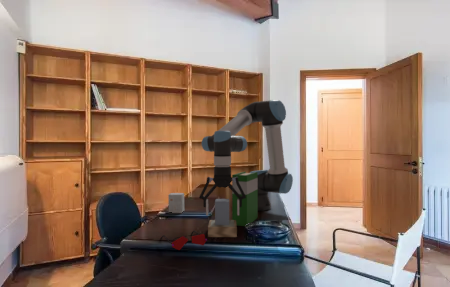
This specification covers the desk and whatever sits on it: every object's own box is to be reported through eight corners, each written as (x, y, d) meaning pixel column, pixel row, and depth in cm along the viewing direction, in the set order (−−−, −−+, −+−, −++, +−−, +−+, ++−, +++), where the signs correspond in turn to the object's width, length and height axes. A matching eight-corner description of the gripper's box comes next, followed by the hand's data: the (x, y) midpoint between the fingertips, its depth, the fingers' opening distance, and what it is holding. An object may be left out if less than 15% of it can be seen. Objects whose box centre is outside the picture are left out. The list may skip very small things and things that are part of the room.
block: (229, 221, 132) (229, 198, 132) (229, 224, 126) (229, 201, 126) (215, 221, 132) (215, 198, 132) (215, 224, 126) (215, 201, 126)
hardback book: (244, 216, 158) (244, 171, 158) (257, 217, 155) (257, 172, 155) (232, 224, 141) (232, 174, 141) (247, 226, 139) (246, 175, 139)
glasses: (172, 252, 106) (172, 238, 106) (160, 239, 121) (160, 227, 121) (207, 246, 113) (207, 233, 113) (192, 234, 127) (192, 222, 127)
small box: (184, 211, 171) (184, 192, 171) (182, 213, 165) (182, 194, 165) (171, 210, 171) (171, 192, 171) (168, 213, 166) (168, 194, 166)
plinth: (236, 228, 135) (236, 219, 135) (236, 237, 123) (236, 226, 123) (209, 228, 135) (209, 219, 135) (208, 237, 123) (207, 226, 123)
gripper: (250, 165, 133) (250, 212, 133) (195, 165, 133) (195, 212, 133) (251, 166, 125) (251, 216, 125) (193, 166, 125) (193, 216, 125)
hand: (222, 214), depth 129 cm, fingers open, 13 cm apart
